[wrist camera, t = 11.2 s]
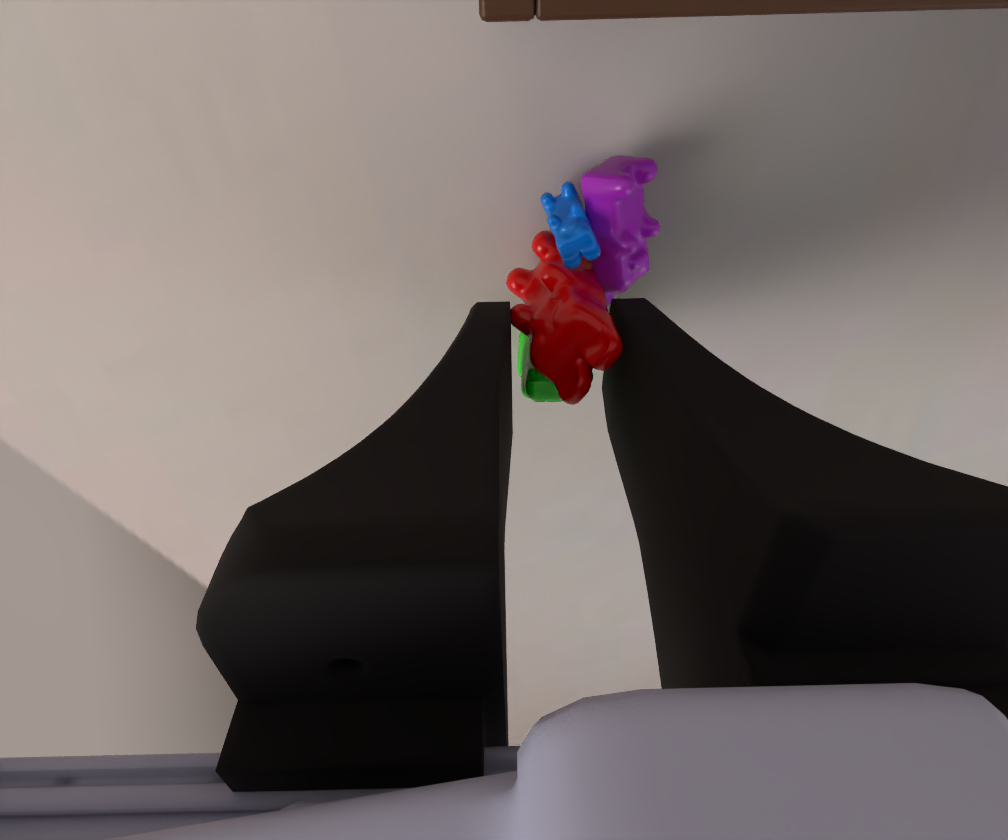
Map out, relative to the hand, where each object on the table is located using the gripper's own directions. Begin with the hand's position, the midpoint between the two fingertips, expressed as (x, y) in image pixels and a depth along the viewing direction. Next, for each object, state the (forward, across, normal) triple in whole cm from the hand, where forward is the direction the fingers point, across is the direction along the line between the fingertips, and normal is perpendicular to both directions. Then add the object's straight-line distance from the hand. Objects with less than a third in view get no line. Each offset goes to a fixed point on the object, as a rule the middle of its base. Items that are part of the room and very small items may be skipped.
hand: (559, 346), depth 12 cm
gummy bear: (+2, 0, -1) cm, 2 cm away
